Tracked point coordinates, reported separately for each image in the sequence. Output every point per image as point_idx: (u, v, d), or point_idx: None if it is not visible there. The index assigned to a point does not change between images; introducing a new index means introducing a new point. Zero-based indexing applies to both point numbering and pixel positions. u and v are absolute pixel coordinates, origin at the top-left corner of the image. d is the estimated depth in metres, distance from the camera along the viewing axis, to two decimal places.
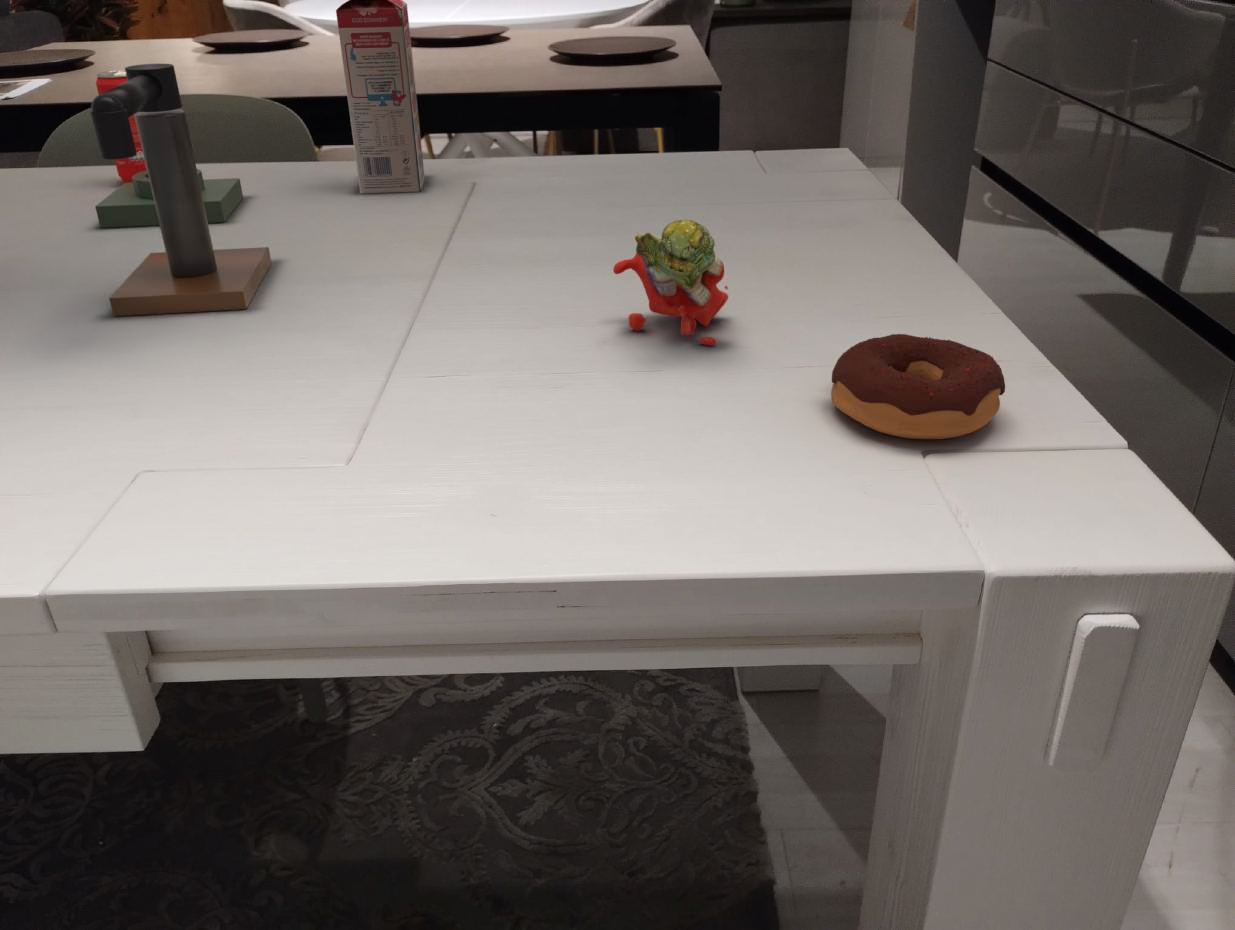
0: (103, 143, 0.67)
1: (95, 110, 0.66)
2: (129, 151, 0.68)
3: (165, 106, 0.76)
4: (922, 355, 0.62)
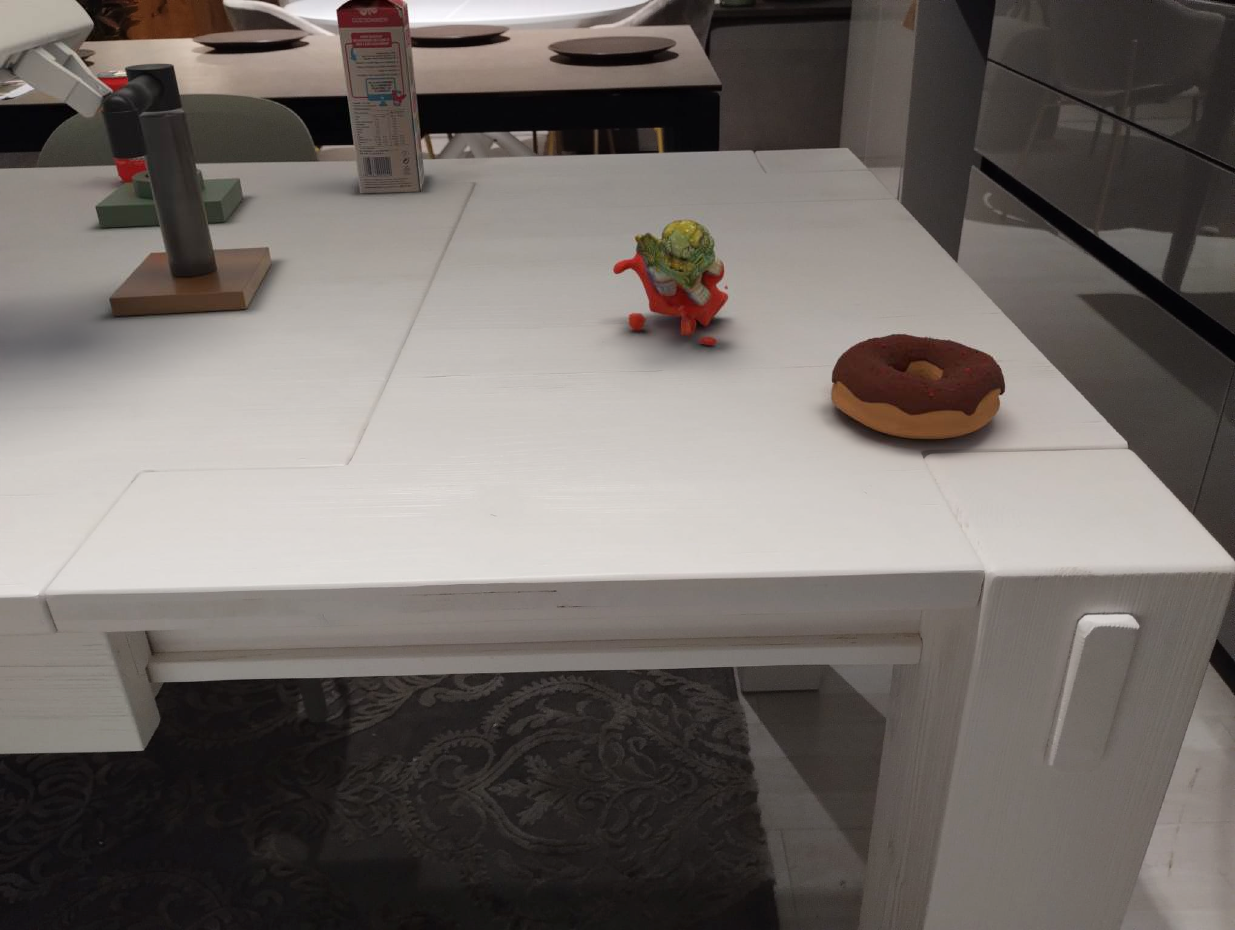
0: (115, 143, 0.67)
1: (107, 110, 0.66)
2: (141, 150, 0.68)
3: (166, 106, 0.76)
4: (922, 355, 0.62)
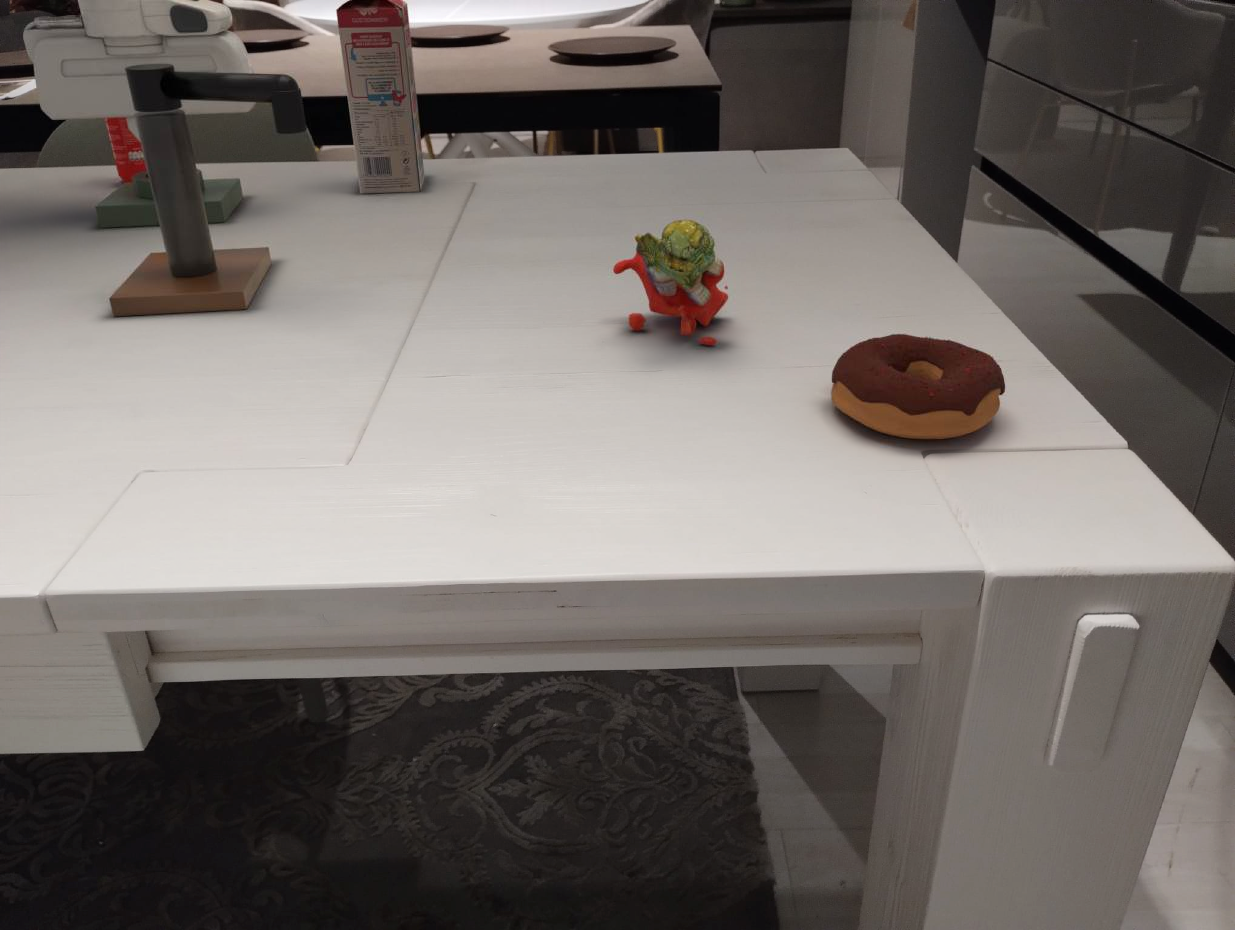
0: (297, 118, 0.74)
1: (290, 88, 0.73)
2: None
3: None
4: (922, 355, 0.62)
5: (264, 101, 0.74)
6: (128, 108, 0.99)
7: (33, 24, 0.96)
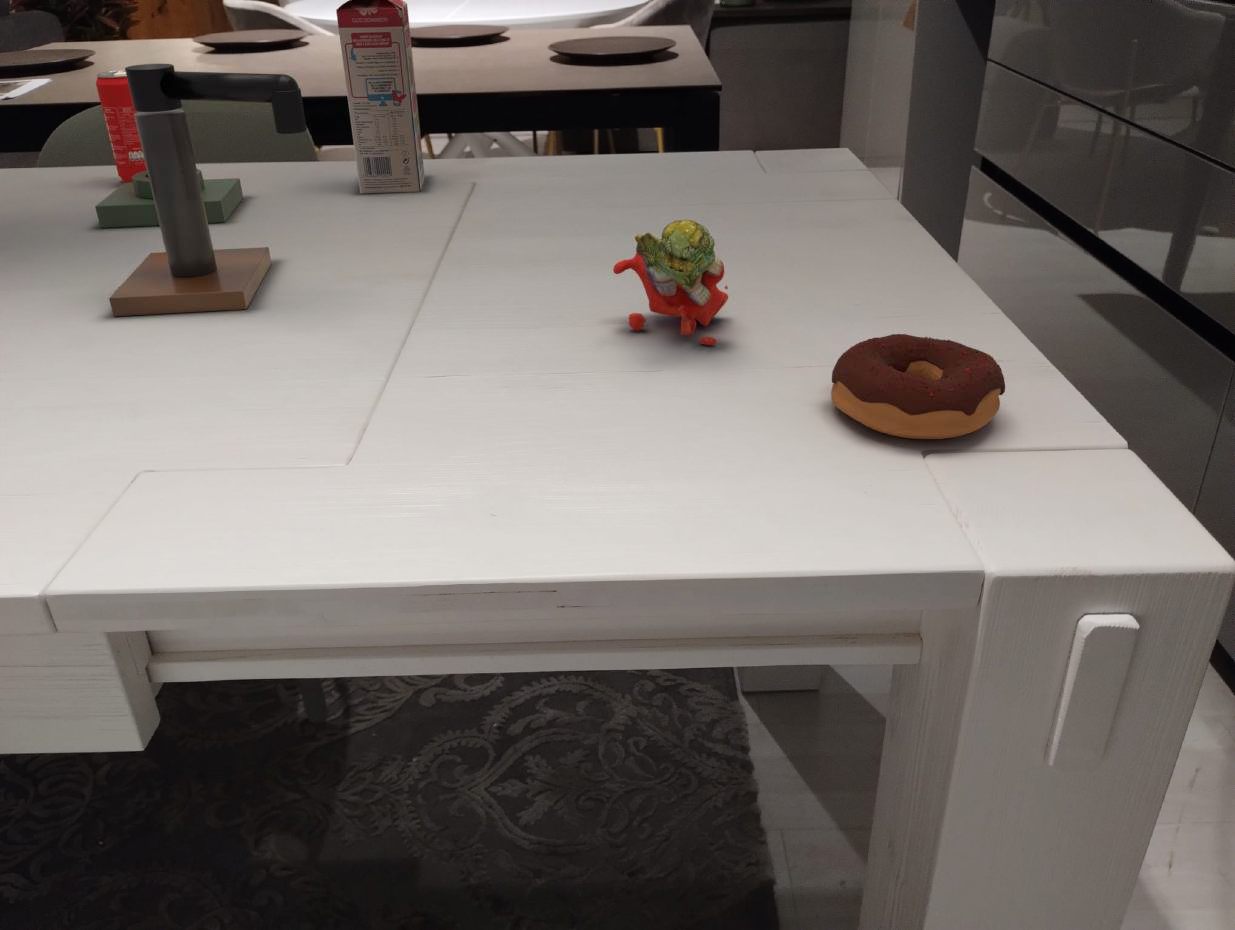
0: (297, 118, 0.74)
1: (290, 88, 0.73)
2: None
3: None
4: (922, 355, 0.62)
5: (264, 101, 0.74)
6: None
7: None
